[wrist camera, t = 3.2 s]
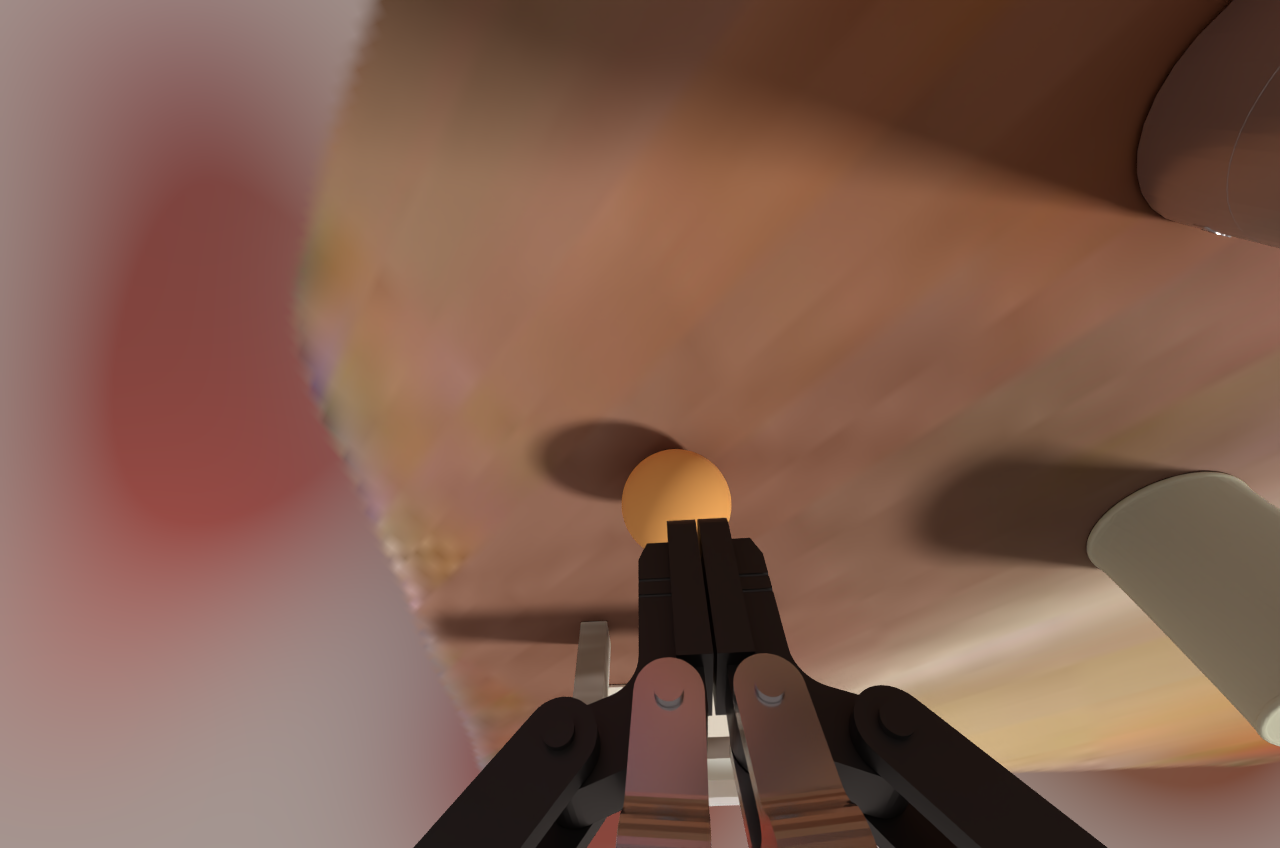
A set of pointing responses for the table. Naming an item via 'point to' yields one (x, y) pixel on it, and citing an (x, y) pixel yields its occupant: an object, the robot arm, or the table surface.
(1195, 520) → the can
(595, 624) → the bridge
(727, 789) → the wall
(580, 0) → the table surface
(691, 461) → the ball
